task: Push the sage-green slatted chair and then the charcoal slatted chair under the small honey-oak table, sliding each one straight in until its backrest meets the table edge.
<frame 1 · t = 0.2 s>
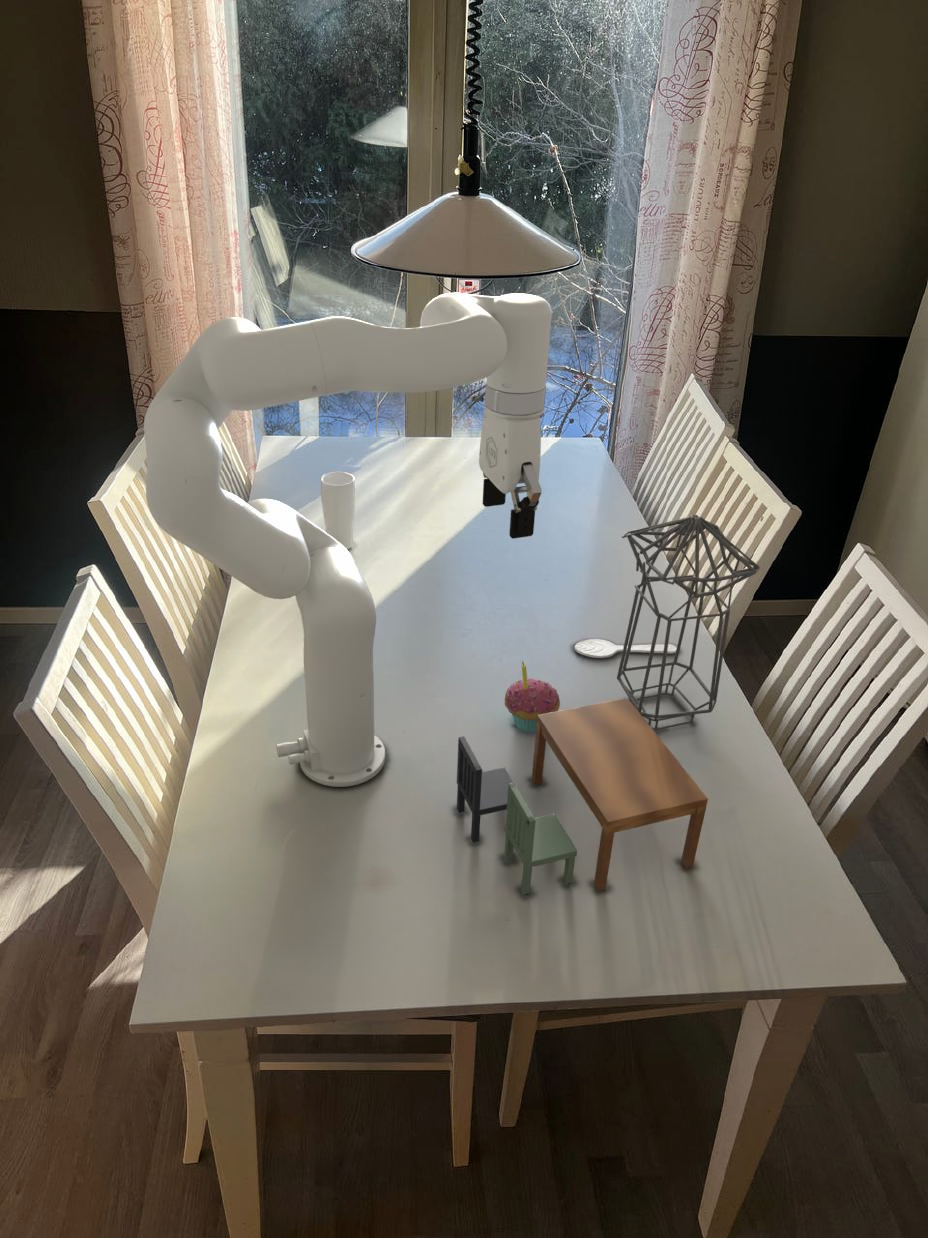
hand: (507, 520, 133), 36 cm above the table, tool pointing down, fingers open, 9 cm apart
charcoal chair: (490, 785, 133), point 7 cm above the table, slide at 0.0 cm
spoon: (625, 650, 173), on the table
geometric lantern: (660, 714, 158), on the table
oak table: (608, 821, 137), on the table
sage chair: (541, 834, 125), point 7 cm above the table, slide at 0.0 cm
cupcake: (529, 723, 155), on the table
drinking glass: (340, 546, 202), on the table
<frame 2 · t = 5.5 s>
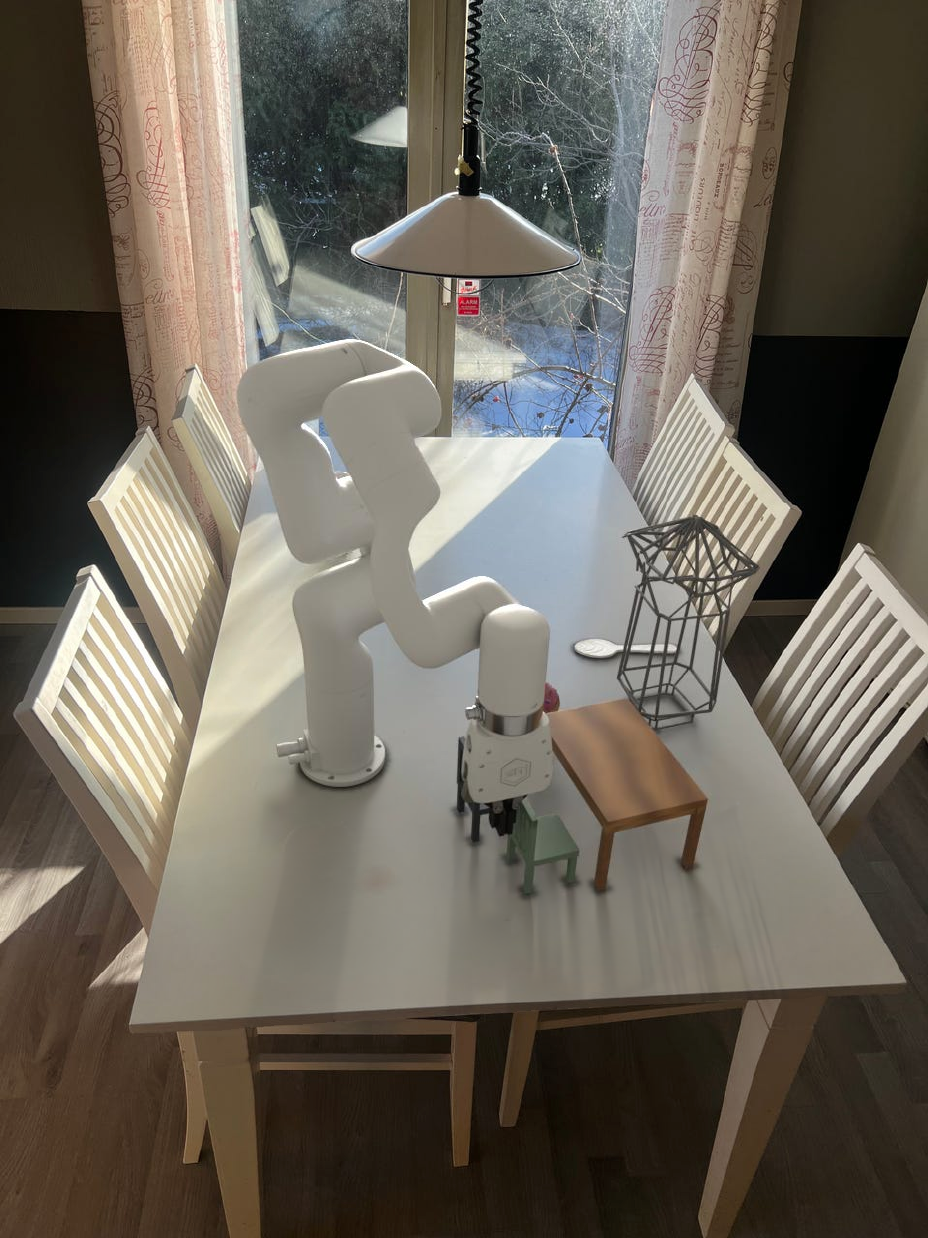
hand: (501, 827, 122), 9 cm above the table, tool pointing down, fingers closed
sage chair: (543, 833, 126), point 7 cm above the table, slide at 0.3 cm, touching gripper
everything else where it was.
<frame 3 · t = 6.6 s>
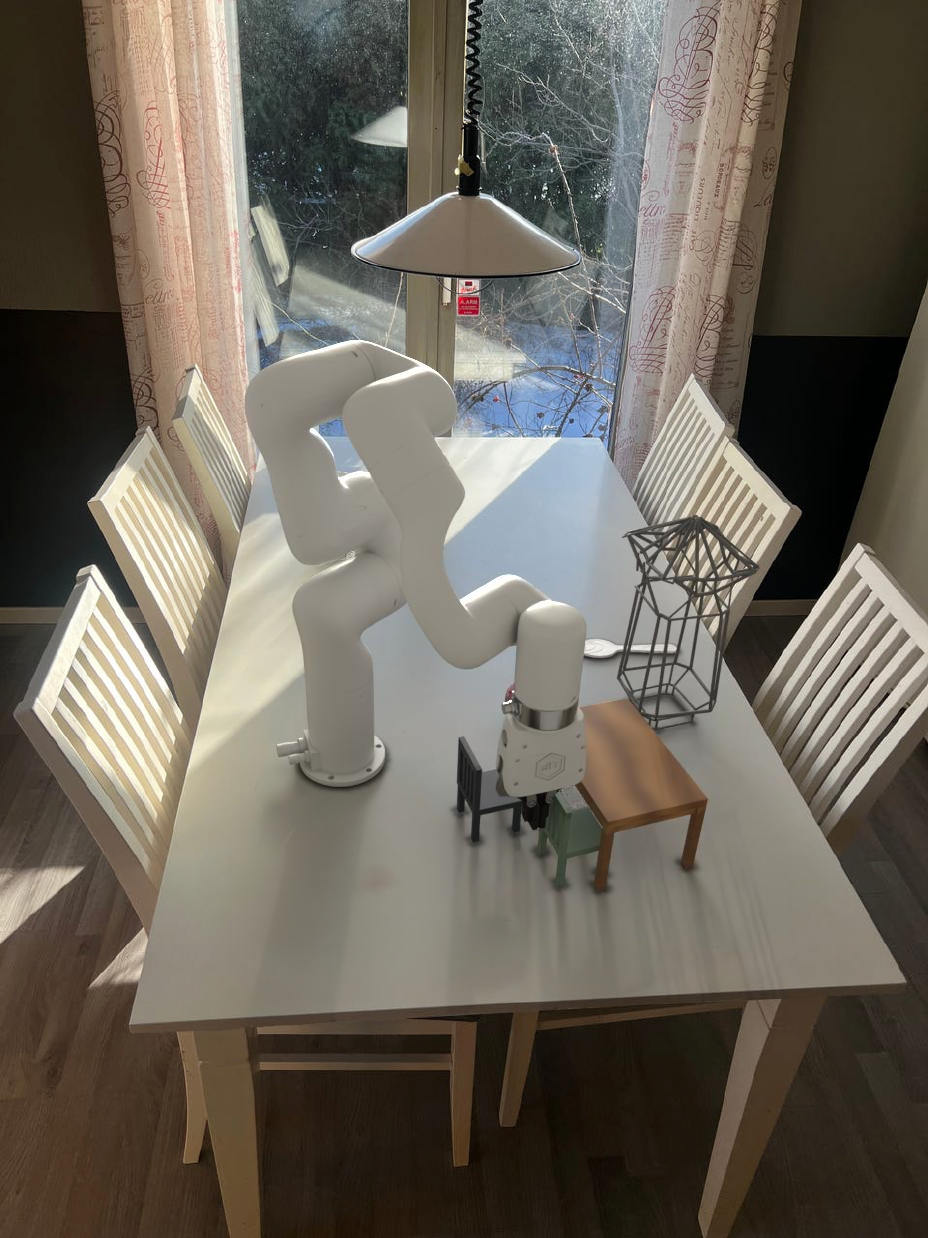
hand: (534, 821, 124), 9 cm above the table, tool pointing down, fingers closed
sage chair: (575, 826, 127), point 7 cm above the table, slide at 4.8 cm, touching gripper
everything else where it was.
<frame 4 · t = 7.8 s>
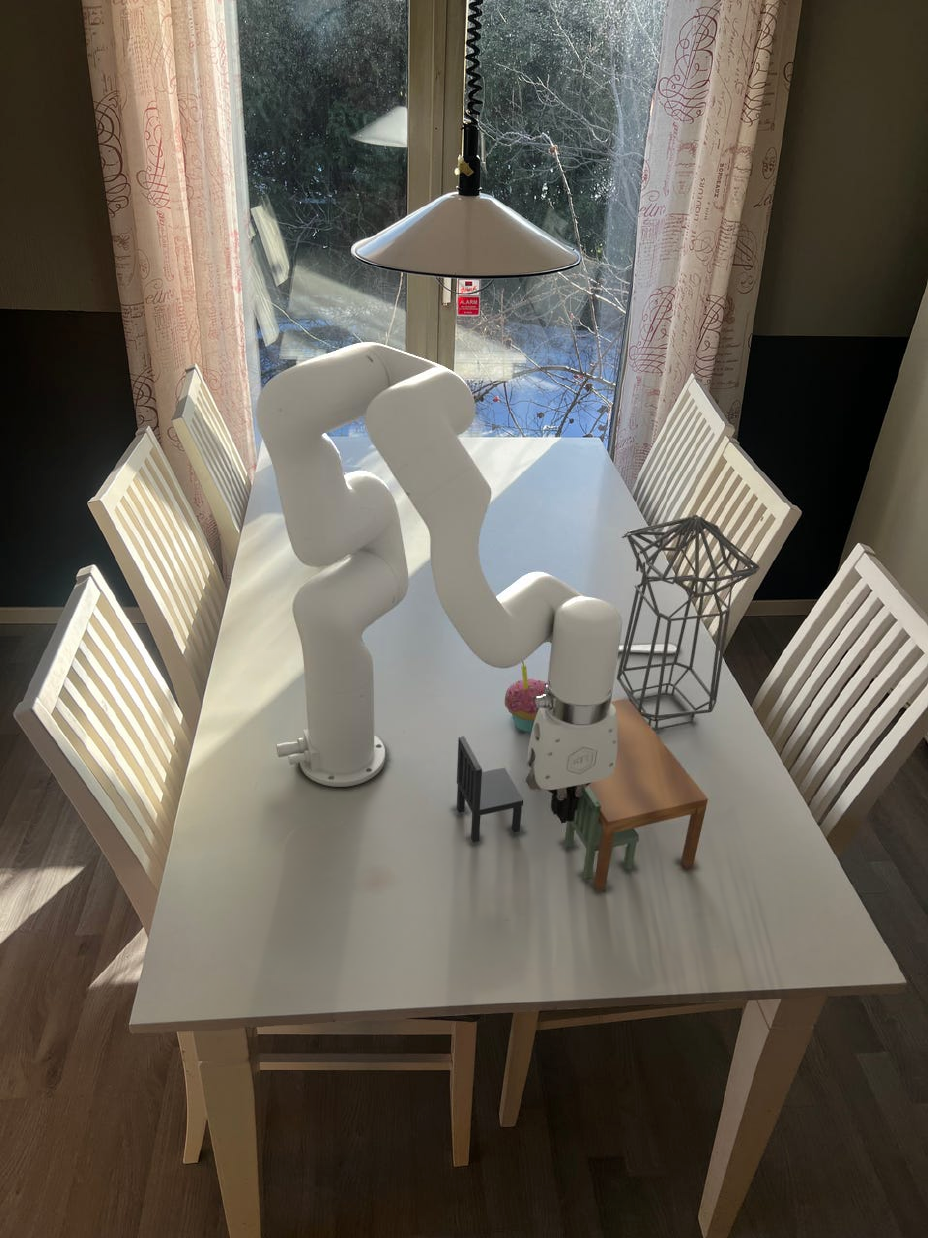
hand: (563, 814, 125), 9 cm above the table, tool pointing down, fingers closed
sage chair: (603, 819, 128), point 7 cm above the table, slide at 8.7 cm, touching gripper, oak table
everything else where it was.
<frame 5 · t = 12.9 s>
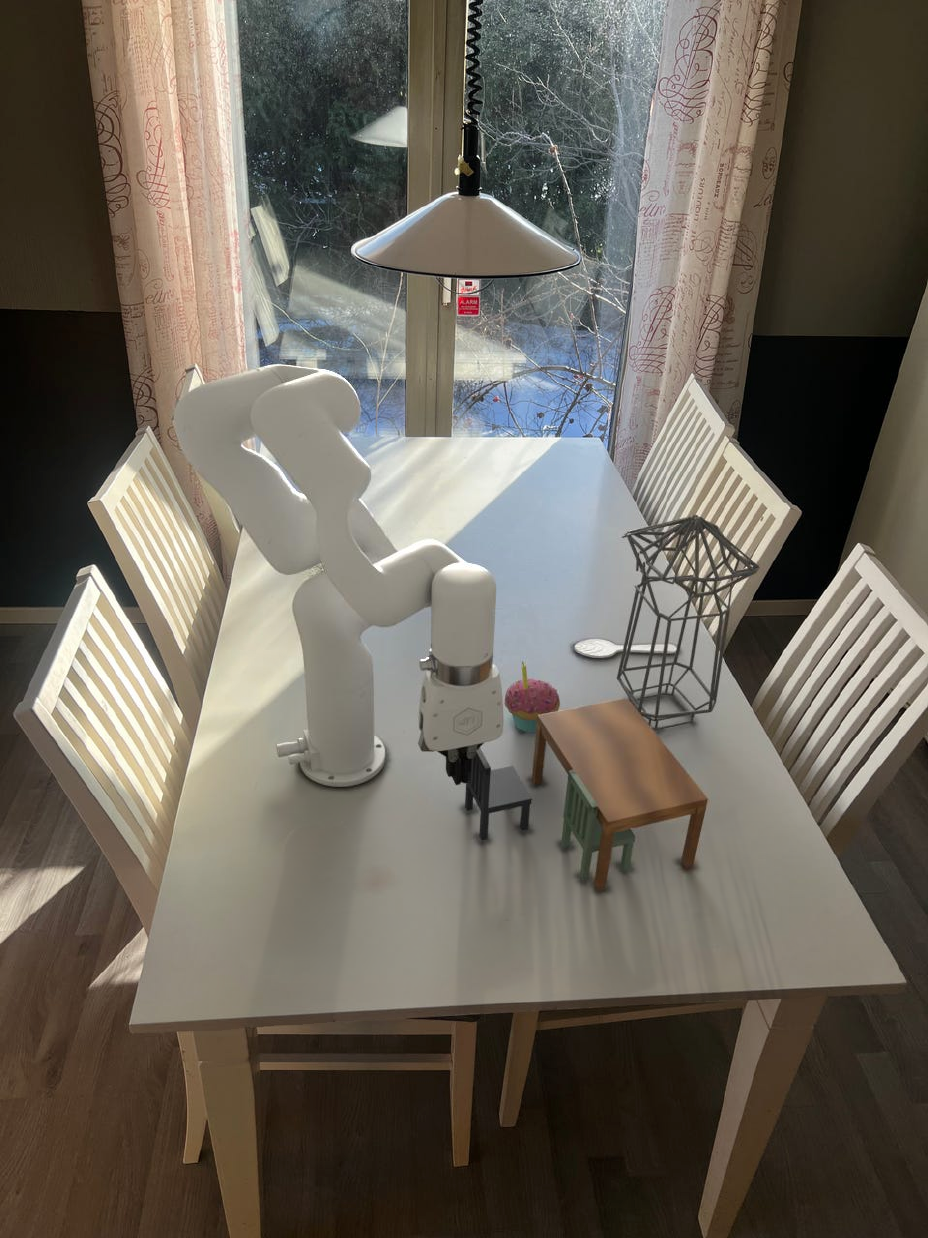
hand: (458, 777, 130), 9 cm above the table, tool pointing down, fingers closed
charcoal chair: (498, 783, 133), point 7 cm above the table, slide at 1.2 cm, touching gripper
sage chair: (599, 820, 128), point 7 cm above the table, slide at 8.2 cm
everything else where it was.
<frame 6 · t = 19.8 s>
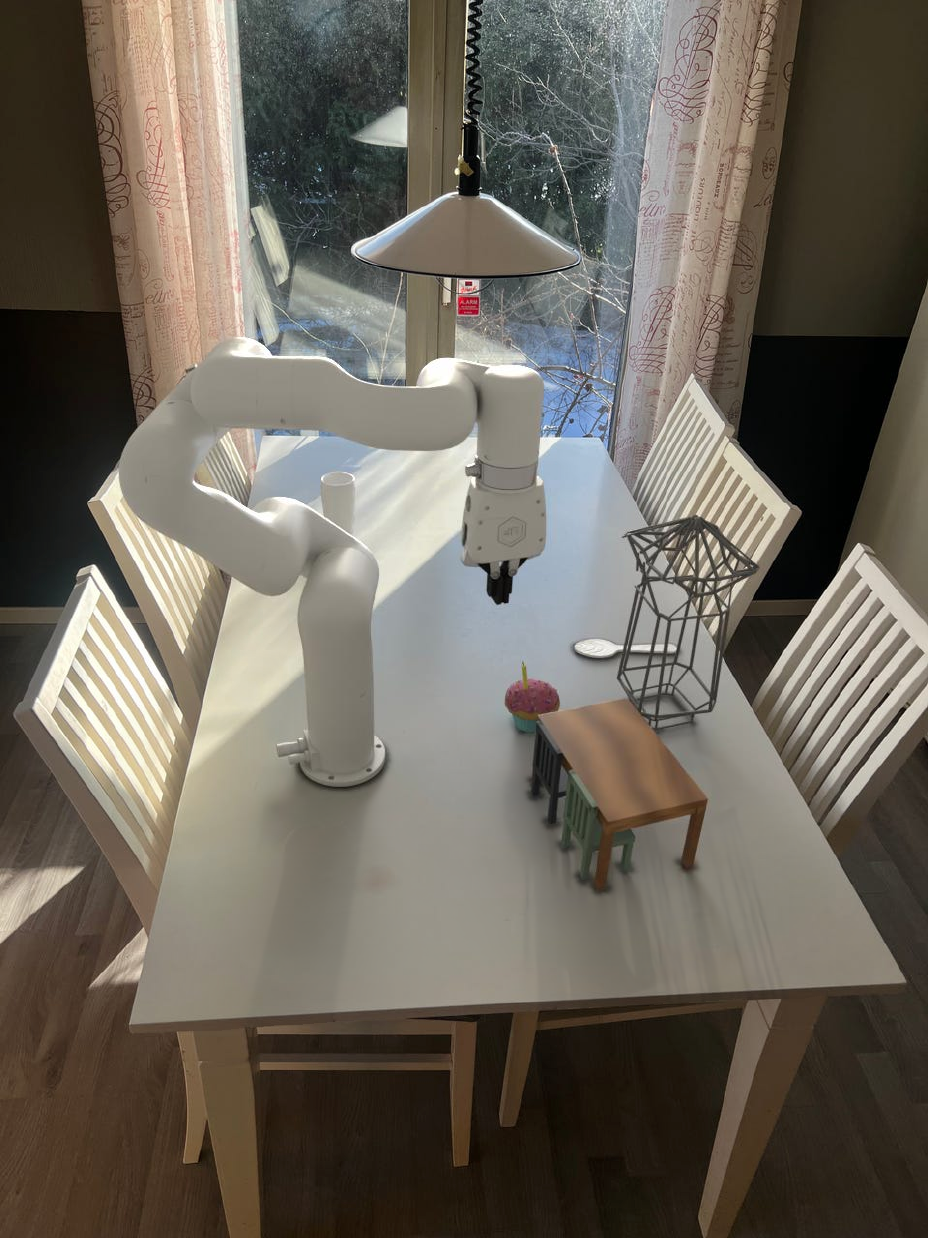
hand: (498, 598, 130), 29 cm above the table, tool pointing down, fingers closed
charcoal chair: (566, 769, 136), point 7 cm above the table, slide at 11.2 cm
everything else where it was.
at the end: sage chair slide at 8.2 cm; charcoal chair slide at 11.2 cm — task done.
